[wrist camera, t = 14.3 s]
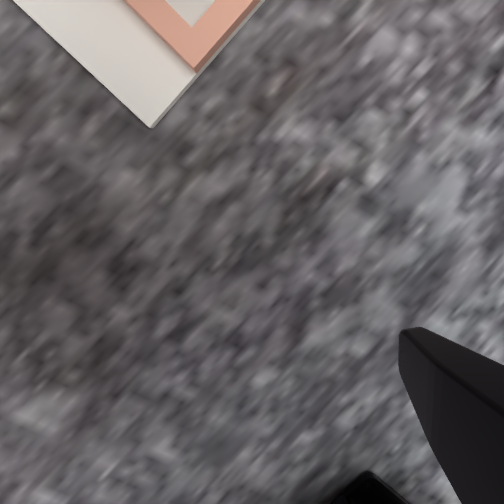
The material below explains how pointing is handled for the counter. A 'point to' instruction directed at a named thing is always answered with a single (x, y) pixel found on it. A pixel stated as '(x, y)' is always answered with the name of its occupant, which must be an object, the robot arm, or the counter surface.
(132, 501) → the counter surface
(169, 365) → the counter surface
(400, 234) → the counter surface
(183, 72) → the board
